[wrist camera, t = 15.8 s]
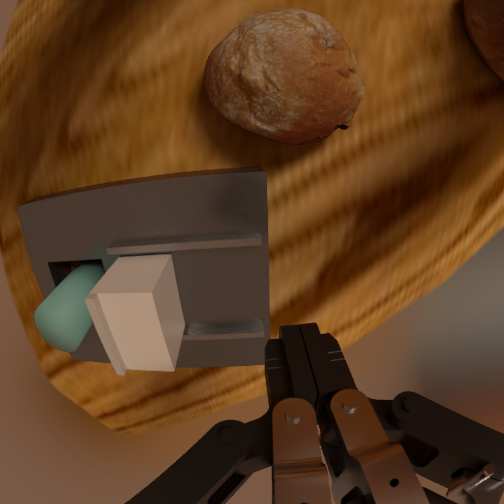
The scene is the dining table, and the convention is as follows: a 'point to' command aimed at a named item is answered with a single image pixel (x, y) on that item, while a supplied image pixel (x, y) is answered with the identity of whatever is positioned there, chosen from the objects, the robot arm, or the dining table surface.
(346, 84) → the bread roll
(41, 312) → the peg
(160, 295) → the block
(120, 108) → the dining table surface
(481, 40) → the ceramic vessel
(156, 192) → the housing
